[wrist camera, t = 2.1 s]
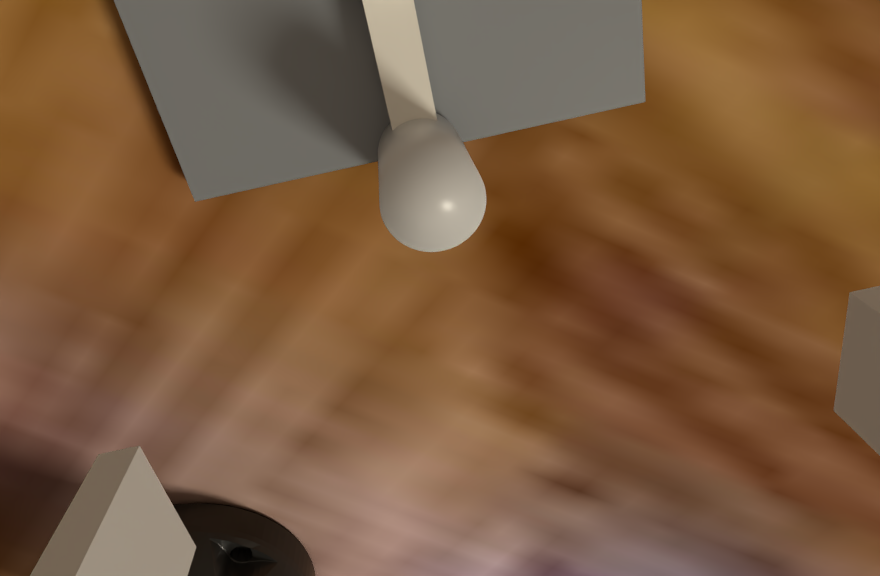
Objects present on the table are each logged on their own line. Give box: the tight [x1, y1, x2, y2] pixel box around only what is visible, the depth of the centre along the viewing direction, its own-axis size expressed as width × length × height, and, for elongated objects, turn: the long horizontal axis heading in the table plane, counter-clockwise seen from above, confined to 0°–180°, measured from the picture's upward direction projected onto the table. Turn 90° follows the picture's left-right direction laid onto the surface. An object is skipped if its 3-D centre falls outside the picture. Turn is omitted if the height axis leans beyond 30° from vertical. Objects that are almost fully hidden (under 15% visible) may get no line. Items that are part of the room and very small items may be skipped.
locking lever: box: [362, 0, 486, 252], centre depth 23 cm, size 17×8×7 cm, turn 11°
